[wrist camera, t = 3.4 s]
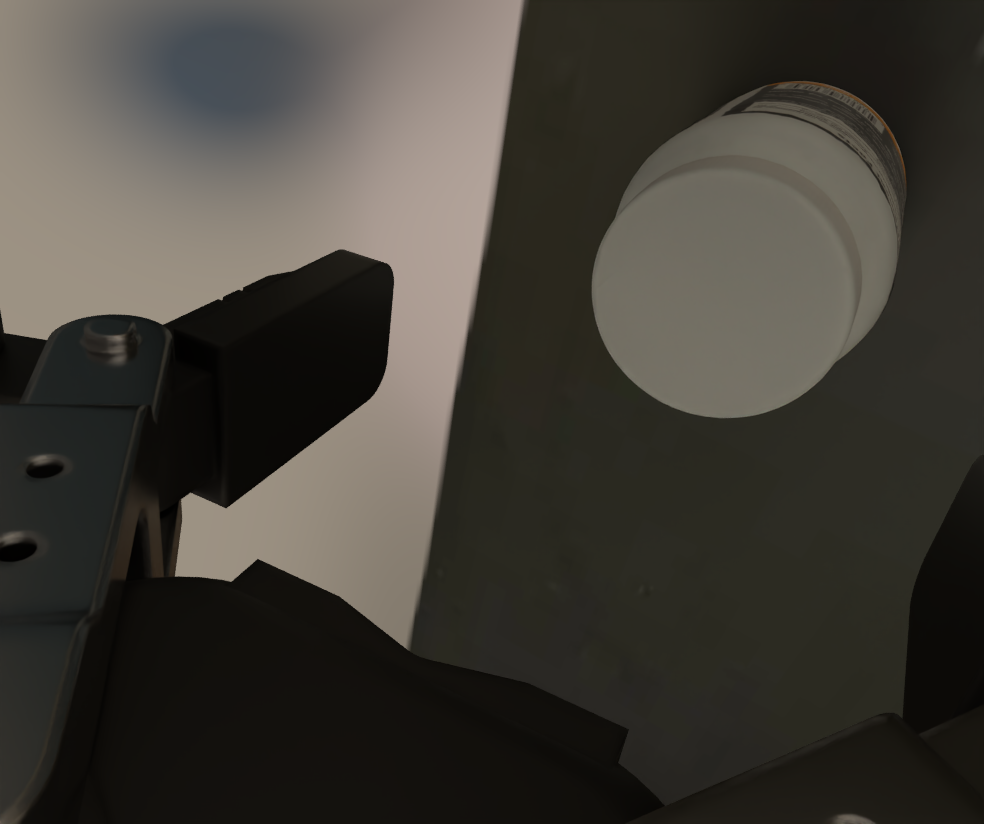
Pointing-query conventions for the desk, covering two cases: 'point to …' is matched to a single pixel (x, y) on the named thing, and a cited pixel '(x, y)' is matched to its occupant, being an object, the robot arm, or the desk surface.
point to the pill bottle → (753, 250)
